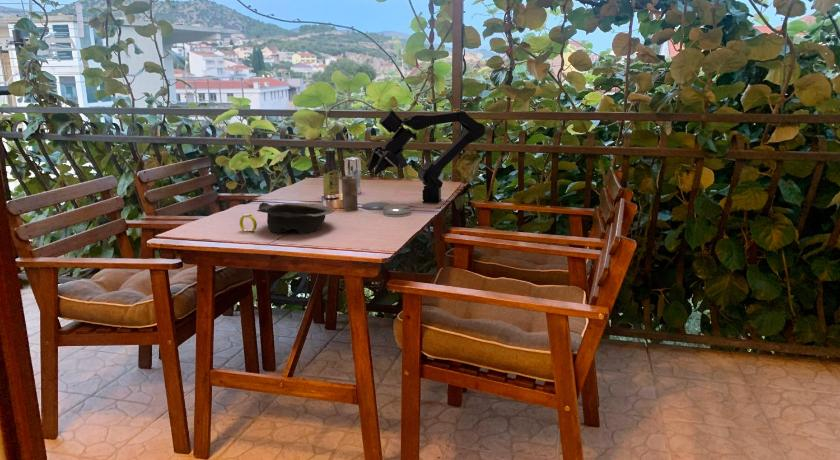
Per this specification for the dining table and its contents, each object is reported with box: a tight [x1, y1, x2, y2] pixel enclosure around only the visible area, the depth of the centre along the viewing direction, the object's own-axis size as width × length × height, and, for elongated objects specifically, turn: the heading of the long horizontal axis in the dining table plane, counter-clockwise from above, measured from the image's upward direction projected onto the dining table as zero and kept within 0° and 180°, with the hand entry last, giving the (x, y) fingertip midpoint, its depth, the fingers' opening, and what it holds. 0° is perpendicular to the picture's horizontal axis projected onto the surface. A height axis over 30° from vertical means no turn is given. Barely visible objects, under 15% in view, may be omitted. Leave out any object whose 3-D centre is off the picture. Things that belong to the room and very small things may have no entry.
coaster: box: [361, 201, 391, 211], centre depth 231 cm, size 11×11×1 cm
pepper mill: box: [341, 175, 359, 212], centre depth 226 cm, size 5×5×13 cm
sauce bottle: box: [322, 149, 340, 197], centre depth 244 cm, size 7×6×20 cm
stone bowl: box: [256, 201, 335, 234], centre depth 200 cm, size 25×25×9 cm
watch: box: [239, 213, 258, 232], centre depth 198 cm, size 6×3×6 cm, turn 67°
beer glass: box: [344, 156, 362, 195], centre depth 253 cm, size 7×7×15 cm
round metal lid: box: [382, 204, 411, 218], centre depth 219 cm, size 10×10×2 cm
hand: (371, 172), depth 227 cm, fingers open, 9 cm apart
